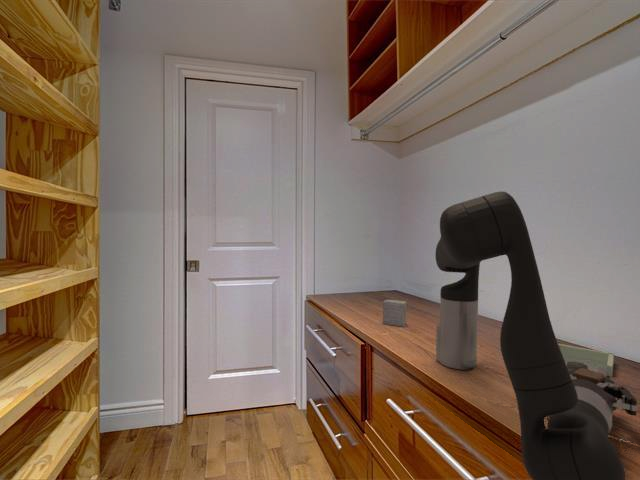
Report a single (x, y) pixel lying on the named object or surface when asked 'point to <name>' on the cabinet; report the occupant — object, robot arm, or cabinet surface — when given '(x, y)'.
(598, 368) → the slot board
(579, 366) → the puck
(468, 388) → the cabinet surface
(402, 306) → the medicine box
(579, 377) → the wooden block
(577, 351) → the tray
